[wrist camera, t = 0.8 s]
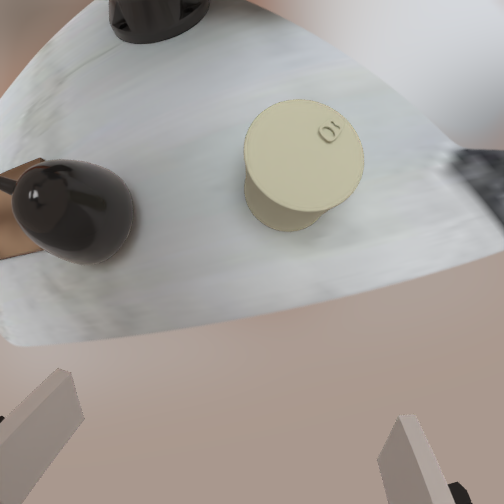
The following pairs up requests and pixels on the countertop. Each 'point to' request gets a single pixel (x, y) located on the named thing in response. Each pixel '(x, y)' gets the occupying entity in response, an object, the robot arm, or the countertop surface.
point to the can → (299, 163)
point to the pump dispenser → (72, 209)
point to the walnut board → (4, 224)
